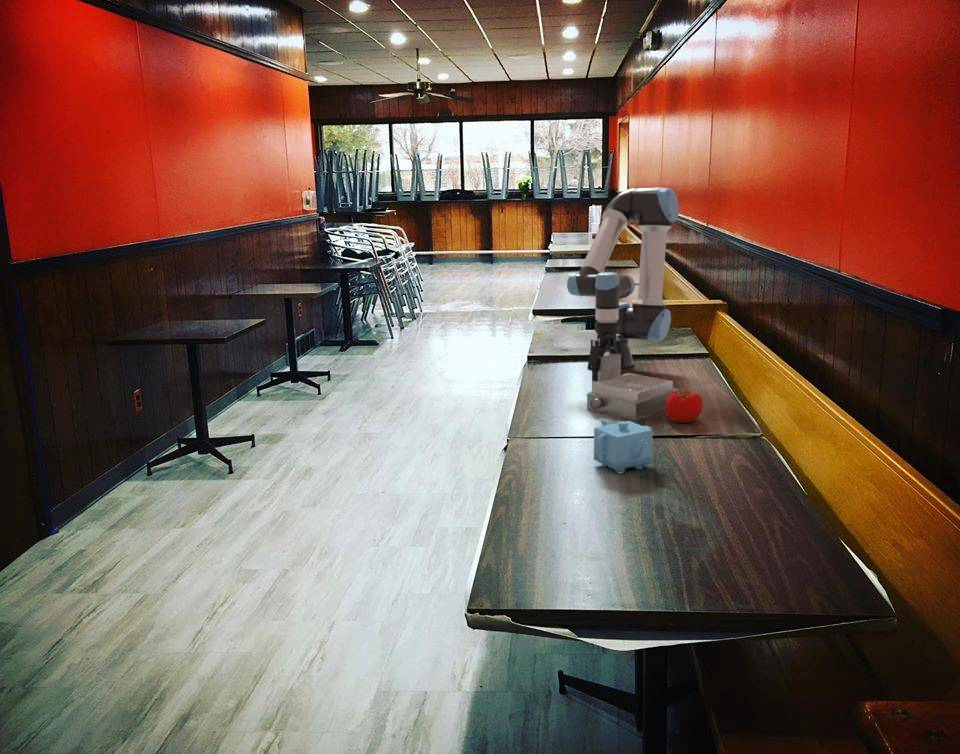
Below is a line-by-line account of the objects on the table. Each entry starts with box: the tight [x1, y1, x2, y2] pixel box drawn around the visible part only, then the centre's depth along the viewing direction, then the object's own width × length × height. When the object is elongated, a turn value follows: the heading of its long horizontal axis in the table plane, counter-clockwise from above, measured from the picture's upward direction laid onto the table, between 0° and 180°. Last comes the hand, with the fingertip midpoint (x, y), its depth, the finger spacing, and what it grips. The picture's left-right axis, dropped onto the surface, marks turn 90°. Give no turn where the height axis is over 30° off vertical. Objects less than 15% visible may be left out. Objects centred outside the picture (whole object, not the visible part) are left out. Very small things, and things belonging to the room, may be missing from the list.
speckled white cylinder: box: [591, 351, 622, 392], centre depth 263 cm, size 10×10×12 cm
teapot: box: [593, 417, 653, 474], centre depth 195 cm, size 16×18×11 cm
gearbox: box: [586, 372, 679, 421], centre depth 243 cm, size 25×18×8 cm
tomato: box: [664, 389, 704, 424], centre depth 229 cm, size 11×11×9 cm
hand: (606, 387), depth 264 cm, fingers closed on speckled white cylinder, 9 cm apart
